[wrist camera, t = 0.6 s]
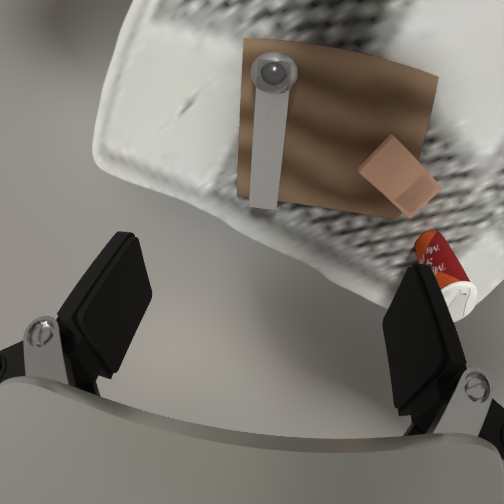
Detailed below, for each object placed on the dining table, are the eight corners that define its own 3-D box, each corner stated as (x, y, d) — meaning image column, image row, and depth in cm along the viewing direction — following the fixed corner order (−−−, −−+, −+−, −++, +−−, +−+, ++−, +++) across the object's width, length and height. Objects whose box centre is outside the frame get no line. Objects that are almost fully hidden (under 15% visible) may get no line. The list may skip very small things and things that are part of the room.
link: (255, 50, 28) (250, 50, 25) (299, 54, 27) (299, 54, 25) (247, 195, 41) (242, 209, 38) (282, 199, 40) (281, 214, 38)
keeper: (350, 152, 36) (358, 172, 31) (379, 121, 32) (393, 136, 27) (396, 194, 38) (409, 218, 33) (424, 166, 35) (441, 188, 30)
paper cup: (414, 223, 41) (442, 289, 30) (454, 225, 39) (487, 287, 29) (404, 261, 46) (423, 327, 35) (441, 262, 44) (466, 324, 34)
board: (245, 38, 28) (244, 38, 27) (434, 75, 26) (438, 77, 25) (238, 192, 42) (236, 195, 41) (396, 216, 41) (398, 220, 40)
